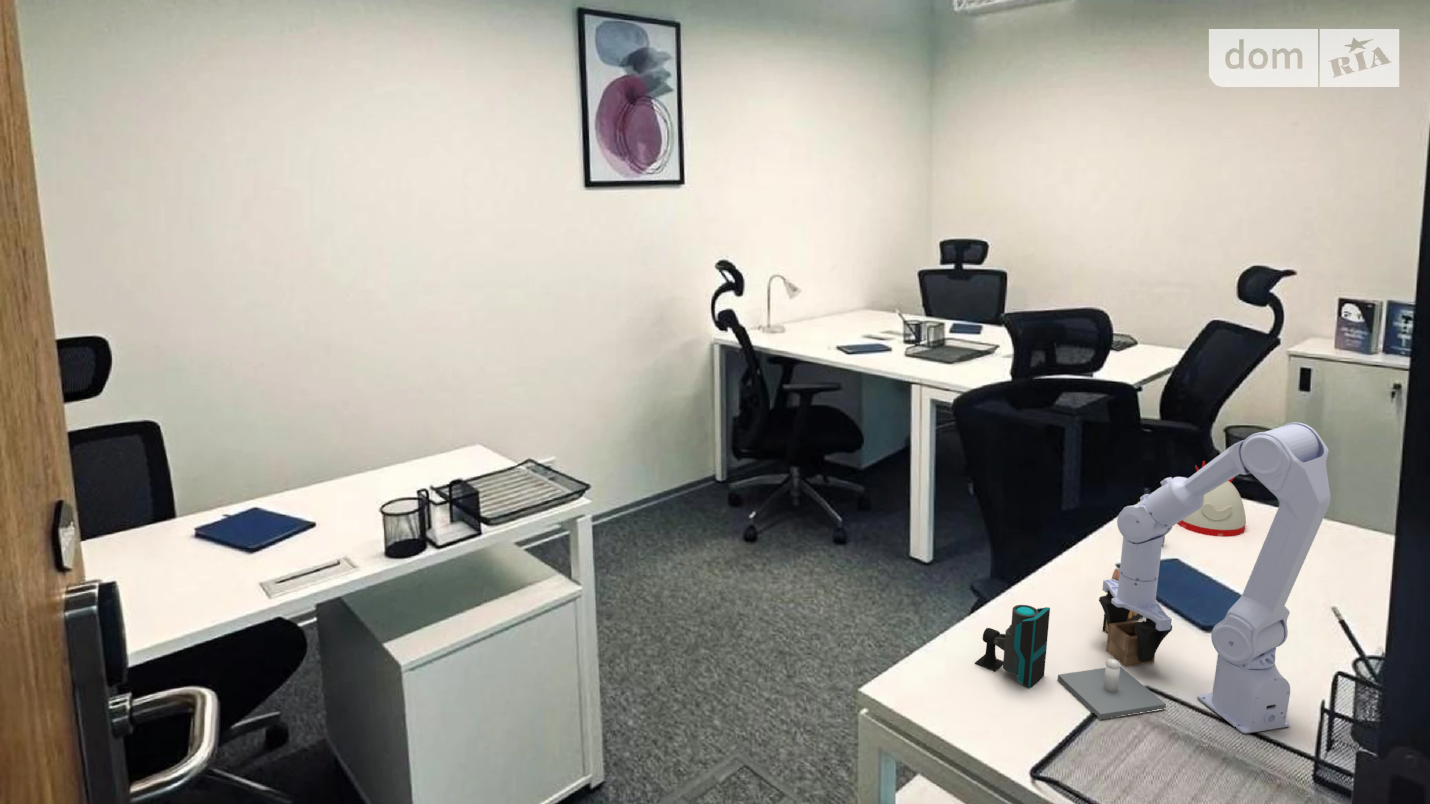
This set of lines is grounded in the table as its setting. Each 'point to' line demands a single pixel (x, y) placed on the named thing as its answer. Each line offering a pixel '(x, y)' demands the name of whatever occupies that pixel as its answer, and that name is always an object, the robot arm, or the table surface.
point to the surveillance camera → (1020, 645)
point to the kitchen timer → (1218, 513)
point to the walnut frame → (1124, 643)
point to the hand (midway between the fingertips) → (1130, 649)
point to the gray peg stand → (1110, 691)
